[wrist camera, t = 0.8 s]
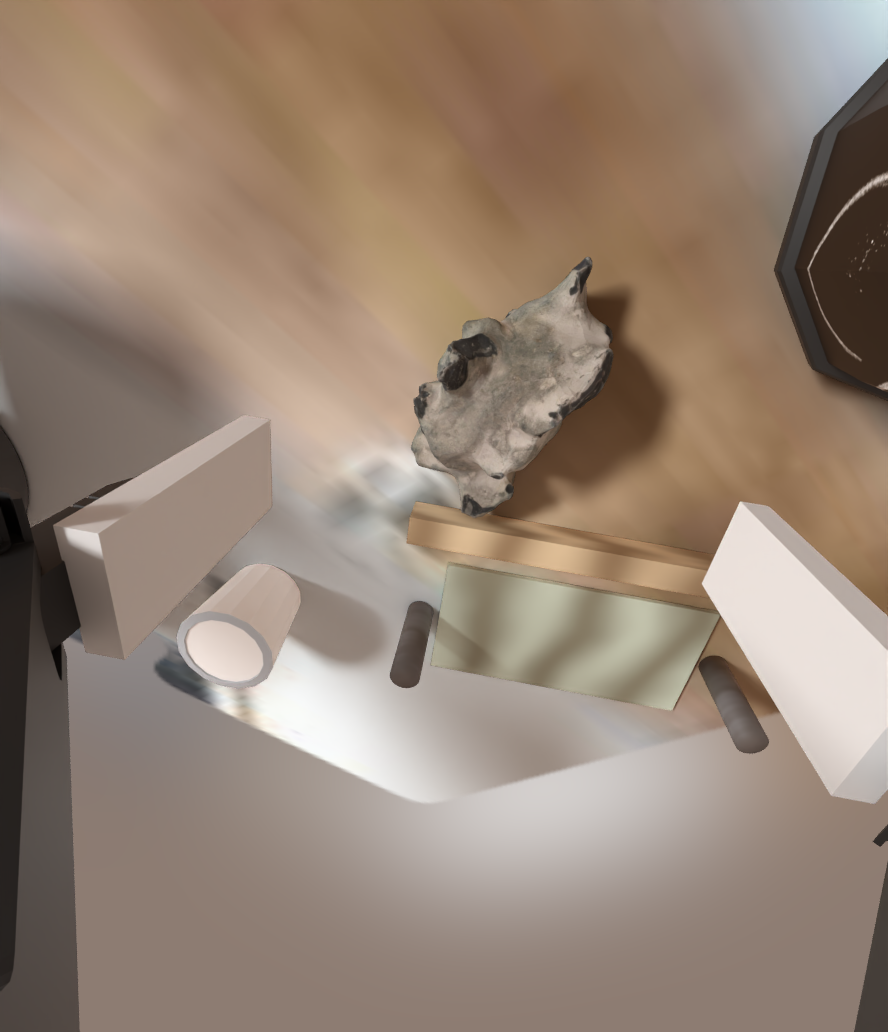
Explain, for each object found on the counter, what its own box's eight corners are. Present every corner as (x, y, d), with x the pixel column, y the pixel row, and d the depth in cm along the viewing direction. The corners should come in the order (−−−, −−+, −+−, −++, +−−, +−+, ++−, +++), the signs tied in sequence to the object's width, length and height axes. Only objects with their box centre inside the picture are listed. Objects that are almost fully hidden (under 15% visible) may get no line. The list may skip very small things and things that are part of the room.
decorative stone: (526, 529, 34) (492, 596, 25) (411, 470, 36) (341, 513, 27) (652, 292, 27) (668, 268, 19) (505, 230, 29) (453, 180, 20)
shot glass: (298, 555, 38) (257, 612, 32) (316, 626, 41) (282, 690, 35) (215, 557, 39) (160, 612, 33) (239, 626, 42) (193, 689, 36)
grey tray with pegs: (395, 655, 42) (376, 723, 35) (415, 501, 35) (396, 552, 29) (706, 714, 41) (742, 794, 35) (788, 567, 34) (851, 635, 28)
